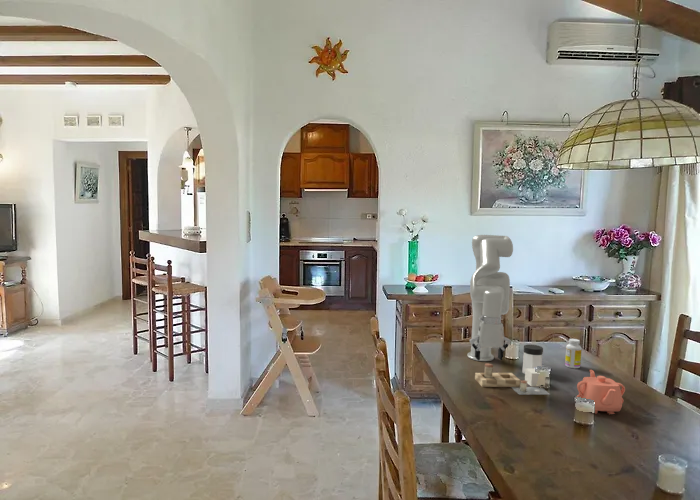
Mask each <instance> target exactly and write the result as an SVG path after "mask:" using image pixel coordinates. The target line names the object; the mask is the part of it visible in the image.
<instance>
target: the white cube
mask: <svg viewBox="0 0 700 500" xmlns="http://www.w3.org/2000/svg"><path fill="white" fill-rule="evenodd" d="M539 374H540V373H537V372H535V369H526V370H525V374H524V380H526V381H527V385H529V387H537V386H536V384H537V381H538V376H539Z"/></svg>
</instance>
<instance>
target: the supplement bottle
mask: <svg viewBox="0 0 700 500" xmlns="http://www.w3.org/2000/svg"><path fill="white" fill-rule="evenodd" d="M580 343H581V341H580V339H577V338H569V339H568V344H566V346H565V359H564V360H565V362H564V364H565V365H564V366H566V368H569V369H570V368H571V369H579V368H581V364H582V363H581V362H582V349H583V348H582V346H581V345H580Z"/></svg>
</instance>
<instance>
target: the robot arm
mask: <svg viewBox="0 0 700 500" xmlns="http://www.w3.org/2000/svg"><path fill="white" fill-rule="evenodd" d="M471 247H472V253H473V255H474V257H475V259H474V260H475V264H476V265H475V271H474V272H473V274H471V275H472V276H471V278H470V281H469V283H470V284H469V287H470V289H469V294H470V295H469V296H470V299H471V308H472V325H471V326H472V327H471V338H470V339H469V341H468V342H469V343H470V346H471V347H470V351H469V352H467V356H466V357H468V358H469V359H471V360H473V361H478V362H490V361H493V360H494V359H495V358H494V357H495V356H494V354H492V348H498V350H497V351H498V352H497V359H498V360H500V361H503V358H504V355H505V353H504V352H505V351H506V349H507V348H508V347H509V344H510V343H512V342H511V341H512V340H511V339H509V338H508V337H506V336H505V333H504V324H503V323H502V321H501V320H502V315H507V314H508V312H509V311H510V296H511V295H510V294H511V293H510V292H511V289H510V288H511V282H510V281H511V280H510V276H509V274H508V273H506V272H504V271H500V268H501V263H500V262H501V261H500V259H501V258H510V257H511V256H513V252H514V244H513V241H512V239H511V238H510V237H509V236H508V235H499V234H497V235H494V234H477V235H475V236H473V237H472V241H471Z"/></svg>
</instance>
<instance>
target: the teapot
mask: <svg viewBox="0 0 700 500" xmlns="http://www.w3.org/2000/svg"><path fill="white" fill-rule="evenodd" d="M589 372H590V373H589V374H590V376H584V377H582V380H581V381H578V382H577V385H576V389H577V391H578V394H577V395H576V398H577V397H581V398H586V399H591V400H594V402H595V414H594V415H597V414H598V412H606V413H607V414H608V413H609V414H608V415H610V414H615V415H616V413H615V412H621V410H622V407H623V404H624V398H623V395H624V394H625V392H626V387H625V385H624V384H622V383H621V382H616V381H615V380H613V379H612V378H609V377H606V376H604V375H597V376H596V374H595V371H594V370H593V369H589Z"/></svg>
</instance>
